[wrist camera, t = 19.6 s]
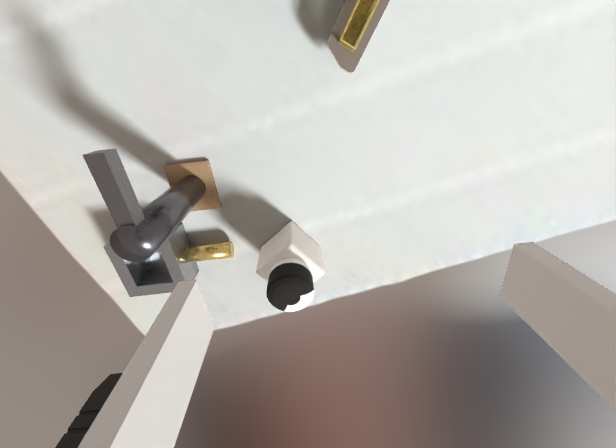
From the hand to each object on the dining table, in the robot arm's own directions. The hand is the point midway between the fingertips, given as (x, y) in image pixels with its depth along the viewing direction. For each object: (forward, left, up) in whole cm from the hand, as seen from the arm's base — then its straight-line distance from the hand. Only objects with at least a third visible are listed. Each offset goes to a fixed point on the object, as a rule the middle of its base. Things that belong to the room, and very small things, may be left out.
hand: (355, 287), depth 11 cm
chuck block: (+13, -22, -29) cm, 38 cm away
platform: (-14, +6, -29) cm, 33 cm away
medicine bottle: (+15, -5, -29) cm, 33 cm away
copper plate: (+3, -18, -29) cm, 34 cm away
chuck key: (0, -17, -28) cm, 33 cm away
